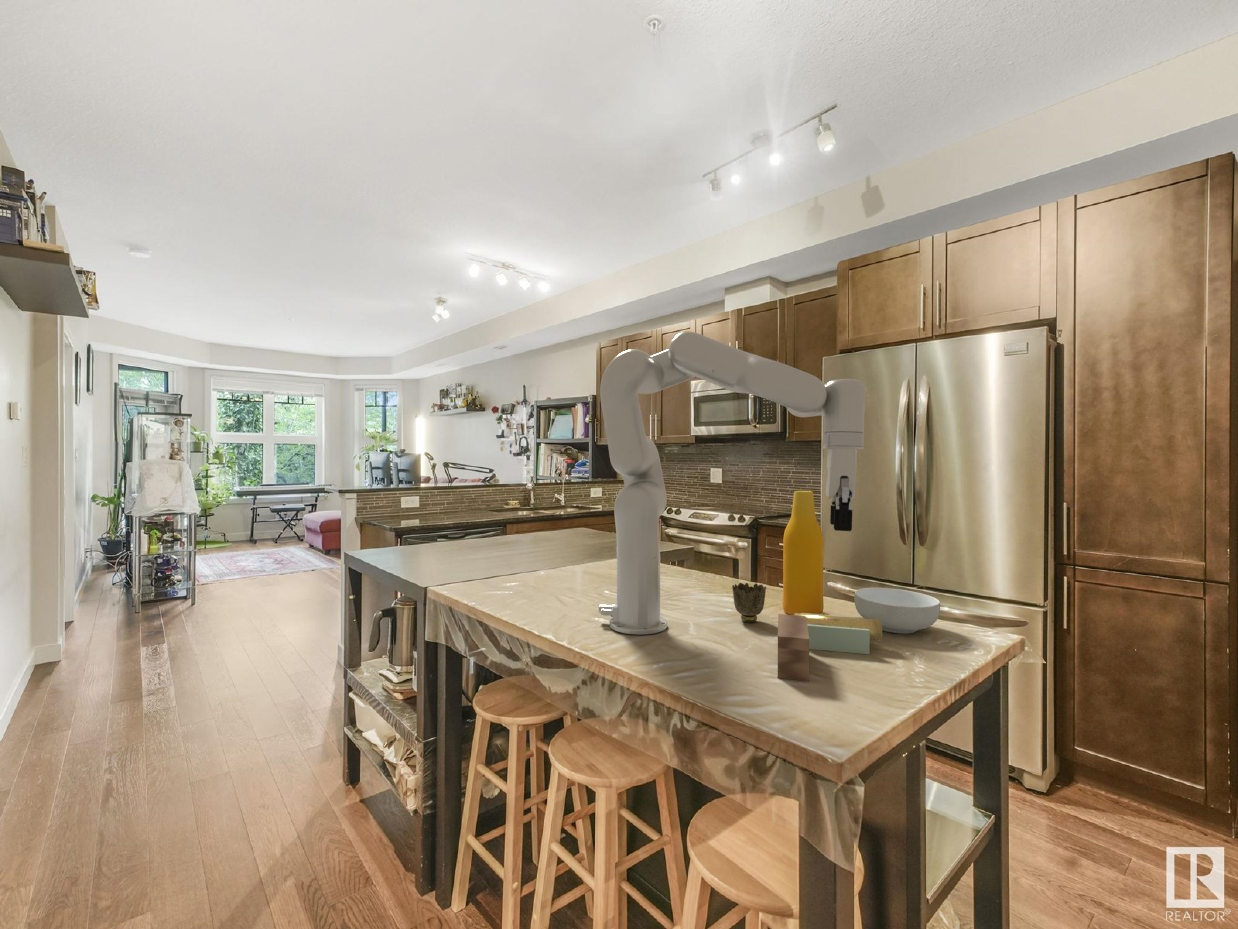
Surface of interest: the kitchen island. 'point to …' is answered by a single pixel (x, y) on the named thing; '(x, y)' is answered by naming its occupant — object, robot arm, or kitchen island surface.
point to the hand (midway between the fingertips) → (840, 527)
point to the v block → (838, 638)
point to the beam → (793, 647)
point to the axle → (847, 623)
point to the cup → (749, 601)
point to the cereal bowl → (897, 608)
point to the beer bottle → (803, 558)
